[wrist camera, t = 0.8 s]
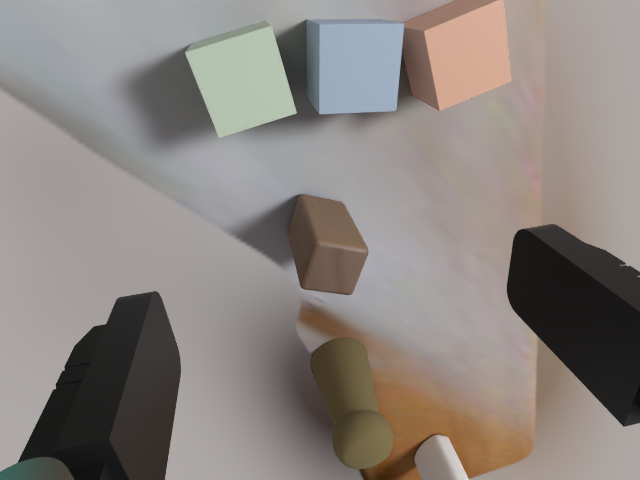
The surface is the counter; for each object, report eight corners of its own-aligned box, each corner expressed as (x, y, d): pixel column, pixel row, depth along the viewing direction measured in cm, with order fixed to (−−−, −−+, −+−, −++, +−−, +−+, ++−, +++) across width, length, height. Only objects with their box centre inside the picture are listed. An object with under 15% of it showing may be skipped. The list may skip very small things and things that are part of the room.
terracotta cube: (395, 25, 29) (423, 31, 25) (463, -3, 29) (503, -3, 25) (411, 95, 32) (439, 110, 28) (473, 69, 32) (511, 81, 28)
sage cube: (191, 43, 28) (184, 52, 23) (264, 20, 28) (271, 25, 24) (220, 117, 30) (219, 137, 26) (287, 96, 30) (296, 113, 26)
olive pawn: (370, 335, 43) (409, 429, 34) (363, 377, 46) (397, 474, 37) (312, 340, 42) (335, 438, 33) (308, 383, 45) (329, 484, 36)
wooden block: (286, 234, 36) (299, 291, 29) (298, 191, 34) (315, 240, 27) (330, 241, 37) (353, 298, 30) (344, 200, 35) (371, 250, 28)
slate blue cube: (305, 19, 28) (319, 24, 24) (378, 19, 29) (404, 23, 25) (306, 97, 31) (319, 114, 26) (373, 95, 31) (396, 110, 27)
